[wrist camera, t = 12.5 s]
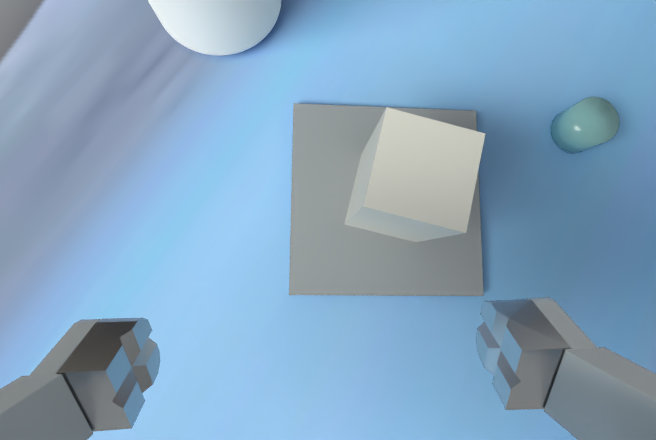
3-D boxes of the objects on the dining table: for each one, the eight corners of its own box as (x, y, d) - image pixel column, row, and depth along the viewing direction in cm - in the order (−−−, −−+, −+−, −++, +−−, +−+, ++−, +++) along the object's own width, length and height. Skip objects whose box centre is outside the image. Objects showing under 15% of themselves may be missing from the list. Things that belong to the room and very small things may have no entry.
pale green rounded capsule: (598, 144, 25) (627, 132, 23) (561, 159, 25) (586, 149, 22) (579, 105, 25) (605, 90, 23) (542, 120, 25) (565, 106, 23)
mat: (478, 294, 23) (483, 295, 22) (289, 294, 22) (289, 294, 22) (471, 114, 24) (476, 110, 24) (293, 107, 24) (293, 103, 23)
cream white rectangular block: (415, 242, 23) (466, 232, 16) (344, 224, 22) (363, 206, 15) (430, 172, 23) (485, 133, 16) (361, 154, 23) (386, 107, 16)
